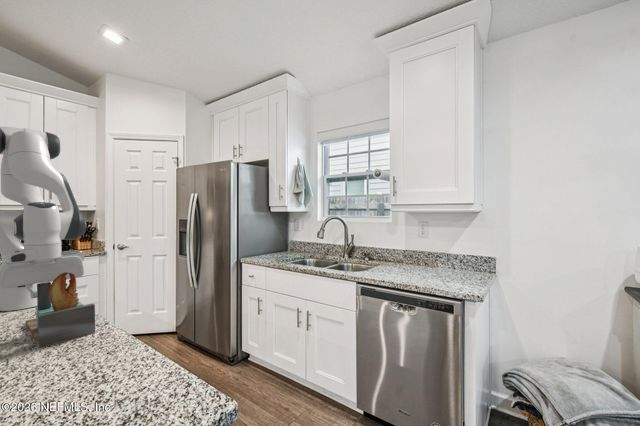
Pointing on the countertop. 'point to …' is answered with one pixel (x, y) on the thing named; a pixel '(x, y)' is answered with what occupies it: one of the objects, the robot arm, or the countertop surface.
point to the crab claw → (63, 292)
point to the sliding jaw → (45, 299)
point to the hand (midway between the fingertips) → (44, 296)
